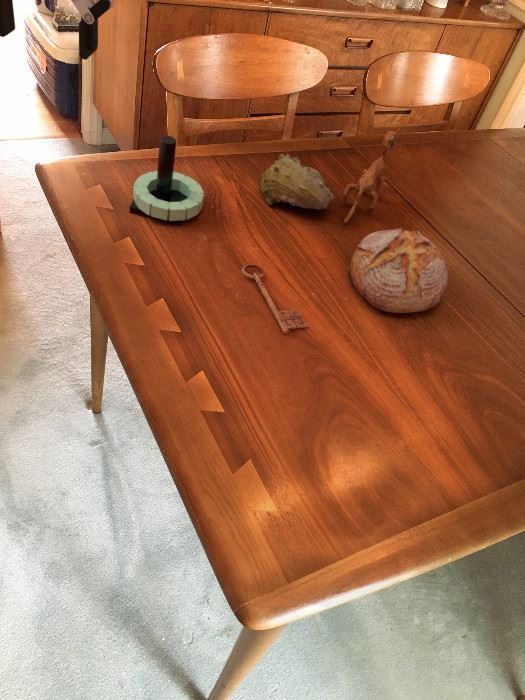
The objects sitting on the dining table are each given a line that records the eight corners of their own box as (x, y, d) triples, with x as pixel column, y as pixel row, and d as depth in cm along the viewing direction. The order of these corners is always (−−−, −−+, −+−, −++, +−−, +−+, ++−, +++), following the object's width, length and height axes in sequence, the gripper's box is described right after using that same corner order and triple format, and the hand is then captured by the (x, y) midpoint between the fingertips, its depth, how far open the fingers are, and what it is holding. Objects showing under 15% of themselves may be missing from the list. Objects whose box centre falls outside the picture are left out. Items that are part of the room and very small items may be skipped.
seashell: (320, 233, 103) (342, 187, 96) (247, 203, 102) (264, 154, 95) (327, 204, 111) (348, 159, 104) (260, 176, 110) (276, 129, 103)
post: (129, 212, 94) (131, 145, 85) (144, 185, 100) (148, 120, 91) (181, 225, 94) (189, 160, 85) (193, 198, 100) (201, 134, 91)
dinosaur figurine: (358, 235, 103) (385, 169, 93) (326, 220, 104) (349, 153, 94) (385, 194, 115) (411, 132, 105) (356, 182, 116) (380, 119, 106)
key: (307, 332, 83) (269, 266, 92) (309, 327, 83) (271, 262, 91) (273, 335, 81) (238, 267, 89) (275, 331, 80) (239, 263, 88)
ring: (124, 209, 92) (124, 198, 90) (145, 175, 100) (146, 164, 98) (192, 227, 92) (194, 216, 91) (208, 192, 100) (209, 181, 99)
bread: (331, 299, 91) (346, 249, 83) (365, 240, 104) (380, 192, 97) (428, 337, 87) (452, 288, 80) (449, 271, 101) (472, 224, 94)
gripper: (134, -123, 57) (128, 53, 69) (-35, -172, 56) (-10, 15, 68) (109, -114, 51) (108, 75, 64) (-78, -168, 50) (-43, 34, 63)
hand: (47, 44), depth 66 cm, fingers open, 9 cm apart
